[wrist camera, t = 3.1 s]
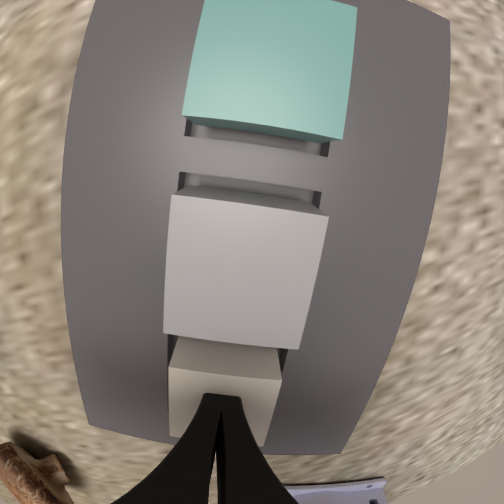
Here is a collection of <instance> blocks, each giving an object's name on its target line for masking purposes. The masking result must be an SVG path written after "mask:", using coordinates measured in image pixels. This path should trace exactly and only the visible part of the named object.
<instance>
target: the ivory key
mask: <svg viewBox="0 0 504 504" xmlns="http://www.w3.org/2000/svg"><path fill="white" fill-rule="evenodd" d="M281 383H282V376H281V370H280V364H279V357H278V351H277V348H273V347H263V346H253V345H244V344H236V343H227V342H219V341H212V340H205V339H198V338H191V337H184V336H179V337H178V340H177V343H176V346H175V349H174V352H173V355H172V358H171V361H170V364H169V433H170V436H173V437H178V438H181V436H182V435H183V434H184V432H185V431H186V429H187V427H188V426H189V424H190V422H191V421H192V419H193V417H194V415H195V413H196V411H197V409H198V407H199V405H200V402H201V400H202V397H203V394H205V393H214V394H222V395H231V396H239V397H240V398H241V400H242V405H243V409H244V413H245V416H246V419H247V422H248V424H249V427H250V429H251V432H252V434H253V436H254V438H255V441H256V443H257V445H258V446H261V447H263V446H264V442H265V439H266V436H267V432H268V429H269V426H270V422H271V419H272V415H273V412H274V408H275V405H276V401H277V398H278V394H279V390H280V387H281Z"/></svg>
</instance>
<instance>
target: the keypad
mask: <svg viewBox="0 0 504 504" xmlns="http://www.w3.org/2000/svg"><path fill="white" fill-rule="evenodd" d="M204 1H205V0H96V1H95V4H94V7H93V10H92V13H91V16H90V19H89V23H88V26H87V30H86V33H85V37H84V41H83V44H82V48H81V52H80V57H79V61H78V65H77V70H76V75H75V80H74V85H73V90H72V96H71V102H70V108H69V115H68V122H67V129H66V138H65V147H64V158H63V172H62V191H61V250H62V269H63V283H64V294H65V304H66V312H67V320H68V328H69V334H70V341H71V347H72V353H73V358H74V363H75V369H76V373H77V378H78V383H79V387H80V392H81V396H82V400H83V404H84V408H85V412H86V415H87V419H88V423H89V425H92V426H96V427H99V428H103V429H106V430H110V431H114V432H118V433H122V434H126V435H130V436H134V437H138V438H143V439H147V440H152V441H157V442H162V443H168V444H174V445H176V443H177V442H178V441H179V439H180V438H178V437H173V436H170V433H169V364H170V361H171V358H172V355H173V352H174V349H175V346H176V343H177V340H178V337H179V336H178V335H172V334H166V333H163V320H164V291H165V270H166V254H167V240H168V227H169V215H170V205H171V195H172V194H173V193H175V192H177V191H179V190H181V189H183V188H185V187H186V186H188V185H193V186H201V187H210V188H218V189H225V190H233V191H240V192H247V193H254V194H261V195H268V196H275V197H281V198H287V199H294V200H300V201H306V202H310V203H311V204H313V205H314V206H315V207H317V208H318V209H319V210H321V211H322V212H323V213H325V214H326V215H327V216H329V219H328V224H327V229H326V234H325V239H324V244H323V249H322V253H321V258H320V263H319V267H318V272H317V276H316V281H315V285H314V289H313V293H312V298H311V302H310V306H309V310H308V314H307V318H306V322H305V326H304V330H303V334H302V338H301V342H300V345H299V349H298V350H297V349H285V348H277V351H278V357H279V364H280V370H281V376H282V383H281V387H280V390H279V394H278V398H277V401H276V405H275V408H274V412H273V415H272V419H271V422H270V426H269V429H268V432H267V436H266V439H265V442H264V446H263V447H261V446H258V447H259V449H260V451H261V452H262V454H268V455H325V454H341V452H342V450H343V448H344V446H345V445H346V443H347V441H348V439H349V437H350V436H351V434H352V432H353V430H354V428H355V426H356V424H357V422H358V420H359V418H360V416H361V414H362V412H363V410H364V408H365V406H366V404H367V402H368V400H369V398H370V396H371V394H372V391H373V389H374V387H375V385H376V383H377V380H378V378H379V376H380V374H381V371H382V369H383V367H384V364H385V362H386V360H387V357H388V355H389V352H390V350H391V347H392V345H393V342H394V340H395V337H396V334H397V332H398V329H399V326H400V323H401V321H402V318H403V315H404V312H405V309H406V306H407V303H408V300H409V297H410V294H411V291H412V288H413V285H414V282H415V278H416V275H417V272H418V268H419V265H420V261H421V257H422V254H423V250H424V246H425V242H426V238H427V234H428V230H429V226H430V222H431V217H432V213H433V208H434V203H435V198H436V193H437V188H438V182H439V177H440V171H441V164H442V158H443V151H444V143H445V135H446V126H447V116H448V104H449V87H450V21H449V20H447V19H445V18H443V17H441V16H439V15H437V14H435V13H433V12H431V11H429V10H427V9H425V8H423V7H421V6H418V5H416V4H414V3H411V2H409V1H407V0H332V1H336V2H340V3H343V4H347V5H350V6H354V7H357V18H356V31H355V42H354V53H353V62H352V71H351V80H350V88H349V96H348V104H347V112H346V119H345V126H344V133H343V139H342V140H338V141H331V142H324V143H315V142H310V141H305V140H299V139H294V138H288V137H282V136H276V135H270V134H264V133H257V132H250V131H243V130H236V129H228V128H219V127H210V126H201V125H196V124H195V123H193V122H191V121H190V120H188V119H187V118H185V117H184V116H182V110H183V104H184V98H185V92H186V87H187V81H188V76H189V70H190V65H191V60H192V55H193V50H194V45H195V40H196V36H197V31H198V27H199V22H200V18H201V14H202V9H203V5H204Z"/></svg>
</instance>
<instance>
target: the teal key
mask: <svg viewBox="0 0 504 504" xmlns="http://www.w3.org/2000/svg"><path fill="white" fill-rule="evenodd" d="M356 18H357V7H354V6H350V5H347V4H343V3H340V2H336V1H332V0H205V1H204V5H203V9H202V14H201V18H200V22H199V27H198V31H197V36H196V40H195V45H194V50H193V55H192V60H191V65H190V70H189V76H188V81H187V87H186V92H185V98H184V104H183V110H182V116H184V117H185V118H187V119H188V120H190V121H191V122H193V123H195V124H196V125H201V126H210V127H219V128H228V129H236V130H243V131H250V132H257V133H264V134H270V135H276V136H282V137H288V138H294V139H299V140H305V141H310V142H315V143H324V142H331V141H338V140H342V139H343V133H344V126H345V119H346V112H347V104H348V96H349V88H350V80H351V71H352V62H353V53H354V42H355V31H356Z"/></svg>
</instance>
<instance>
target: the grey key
mask: <svg viewBox="0 0 504 504" xmlns="http://www.w3.org/2000/svg"><path fill="white" fill-rule="evenodd" d="M328 219H329V216H327V215H326V214H325V213H323V212H322V211H321V210H319V209H318V208H317V207H315V206H314V205H313V204H311V203H310V202H306V201H300V200H294V199H287V198H281V197H275V196H268V195H261V194H254V193H247V192H240V191H233V190H225V189H218V188H210V187H201V186H193V185H188V186H186V187H185V188H183V189H181V190H179V191H177V192H175V193H173V194H172V195H171V205H170V215H169V227H168V240H167V254H166V270H165V291H164V320H163V333H166V334H172V335H178V336H184V337H191V338H198V339H205V340H212V341H219V342H227V343H236V344H244V345H253V346H263V347H273V348H285V349H297V350H298V349H299V345H300V342H301V338H302V334H303V330H304V326H305V322H306V318H307V314H308V310H309V306H310V302H311V298H312V293H313V289H314V285H315V281H316V276H317V272H318V267H319V263H320V258H321V253H322V249H323V244H324V239H325V234H326V229H327V224H328Z"/></svg>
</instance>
